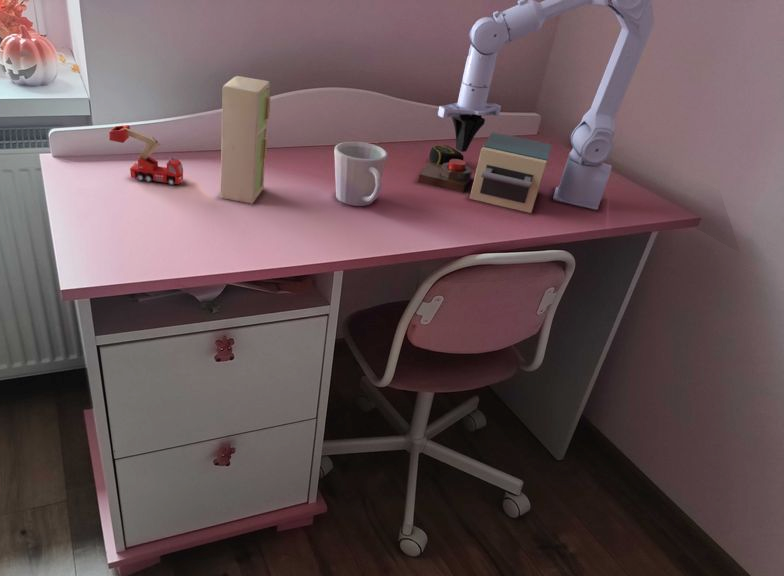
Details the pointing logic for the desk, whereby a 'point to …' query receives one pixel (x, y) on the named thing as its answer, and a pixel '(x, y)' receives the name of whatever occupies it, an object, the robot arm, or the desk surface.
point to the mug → (358, 172)
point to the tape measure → (444, 154)
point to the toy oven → (518, 146)
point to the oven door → (507, 179)
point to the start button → (457, 165)
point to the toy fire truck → (148, 159)
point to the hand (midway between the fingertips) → (461, 150)
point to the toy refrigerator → (244, 138)
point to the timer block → (445, 177)
